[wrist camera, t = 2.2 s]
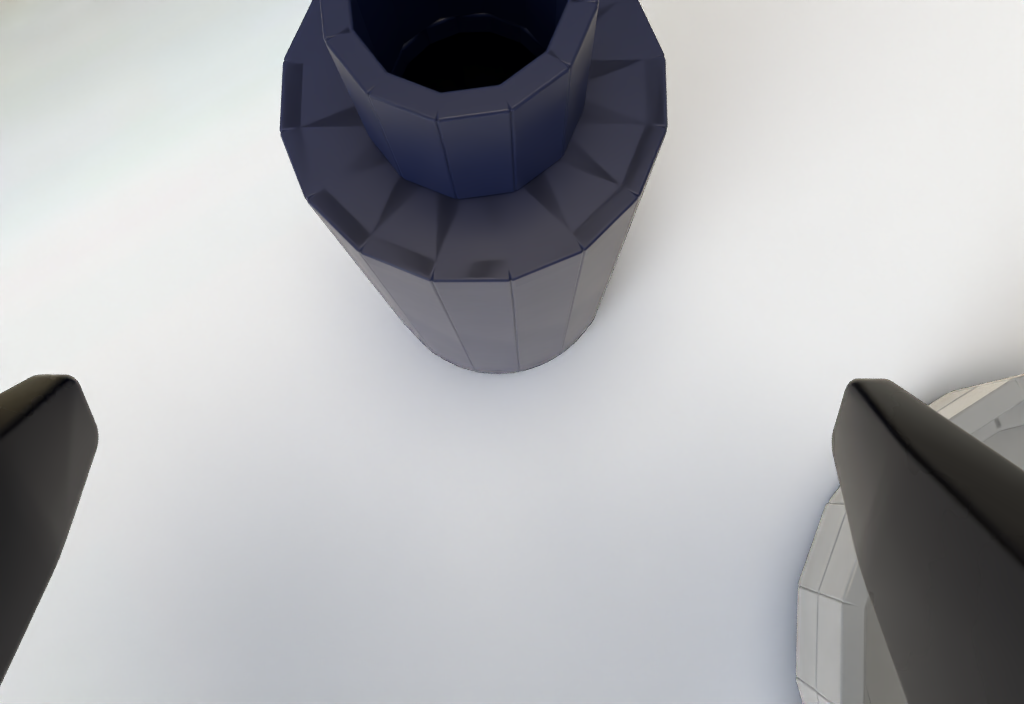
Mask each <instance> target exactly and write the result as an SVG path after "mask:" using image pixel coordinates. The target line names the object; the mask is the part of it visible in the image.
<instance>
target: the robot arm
mask: <svg viewBox="0 0 1024 704" xmlns="http://www.w3.org/2000/svg"><path fill="white" fill-rule="evenodd" d="M97 446H98V429H97V425H96V423H95V420H94V418H93V415H92V413H91V411H90V408H89V406H88V403H87V401H86V398H85V396H84V394H83V391H82V389H81V386H80V384H79V383H78V381H77V380H76V379H75V378H74V377H72V376H70V375H51V374H42V375H35V376H32V377H30V378H28V379H26V380H25V381H23V382H21V383H19V384H17V385H15V386H14V387H12V388H10V389H8V390H6V391H4V392H3V393H1V394H0V685H1V683H2V681H3V679H4V677H5V675H6V672H7V670H8V668H9V666H10V664H11V662H12V660H13V657H14V655H15V653H16V651H17V649H18V647H19V645H20V643H21V640H22V638H23V636H24V634H25V632H26V630H27V628H28V625H29V623H30V621H31V619H32V617H33V615H34V613H35V610H36V608H37V606H38V604H39V602H40V600H41V598H42V595H43V593H44V591H45V589H46V587H47V585H48V583H49V580H50V578H51V576H52V574H53V571H54V569H55V567H56V565H57V562H58V560H59V558H60V555H61V552H62V550H63V547H64V544H65V542H66V539H67V536H68V533H69V530H70V527H71V524H72V521H73V518H74V515H75V512H76V509H77V506H78V503H79V500H80V497H81V494H82V491H83V488H84V485H85V482H86V479H87V476H88V473H89V470H90V467H91V465H92V462H93V459H94V456H95V453H96V450H97ZM832 452H833V457H834V461H835V465H836V470H837V474H838V479H839V483H840V487H841V492H842V496H843V501H844V505H845V510H846V514H847V518H848V523H849V527H850V532H851V536H852V540H853V545H854V549H855V553H856V557H857V561H858V565H859V568H860V571H861V574H862V577H863V580H864V584H865V587H866V589H867V592H868V595H869V598H870V600H871V603H872V606H873V609H874V612H875V614H876V617H877V620H878V623H879V626H880V628H881V631H882V634H883V637H884V640H885V642H886V645H887V648H888V651H889V654H890V656H891V659H892V662H893V665H894V667H895V670H896V673H897V676H898V679H899V681H900V684H901V687H902V690H903V693H904V695H905V698H906V701H907V704H1024V470H1023V469H1021V468H1020V467H1018V466H1017V465H1015V464H1014V463H1012V462H1011V461H1009V460H1008V459H1007V458H1005V457H1004V456H1002V455H1001V454H999V453H998V452H996V451H995V450H993V449H992V448H990V447H989V446H987V445H986V444H984V443H983V442H981V441H980V440H978V439H977V438H975V437H974V436H972V435H971V434H969V433H968V432H966V431H965V430H963V429H962V428H961V427H959V426H958V425H956V424H955V423H953V422H952V421H950V420H949V419H947V418H946V417H944V416H943V415H941V414H940V413H938V412H937V411H935V410H934V409H932V408H931V407H929V406H928V405H926V404H925V403H923V402H922V401H920V400H919V399H917V398H916V397H915V396H913V395H912V394H910V393H909V392H907V391H906V390H904V389H903V388H901V387H900V386H898V385H897V384H895V383H894V382H892V381H890V380H888V379H854V380H852V381H850V382H849V384H848V385H847V387H846V389H845V392H844V396H843V399H842V402H841V406H840V409H839V413H838V416H837V419H836V423H835V426H834V429H833V434H832Z"/></svg>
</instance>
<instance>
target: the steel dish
mask: <svg viewBox="0 0 1024 704" xmlns="http://www.w3.org/2000/svg"><path fill="white" fill-rule="evenodd" d="M928 406H929V407H931V408H932V409H934V410H935V411H937V412H938V413H940V414H941V415H943V416H944V417H946V418H947V419H949V420H950V421H952V422H953V423H955V424H956V425H958V426H959V427H961V428H962V429H963V430H965V431H966V432H968V433H969V434H971V435H972V436H974V437H975V438H977V439H978V440H980V441H981V442H983V443H984V444H986V445H987V446H989V447H990V448H992V449H993V450H995V451H996V452H998V453H999V454H1001V455H1002V456H1004V457H1005V458H1007V459H1008V460H1009V461H1011V462H1012V463H1014V464H1015V465H1017V466H1018V467H1020V468H1021V469H1023V470H1024V374H1020V375H1016V376H1012V377H1008V378H1004V379H1000V380H995V381H991V382H987V383H983V384H979V385H975V386H971V387H967V388H963V389H958V390H954V391H952V392H950V393H947V394H945V395H943V396H942V397H940V398H939V399H937V400H936V401H934V402H932V403H931V404H929V405H928ZM798 585H799V587H798V601H797V644H796V676H797V677H796V681H797V685H798V688H799V692H800V696H801V699H802V703H803V704H907V701H906V698H905V695H904V693H903V690H902V687H901V684H900V681H899V679H898V676H897V673H896V670H895V667H894V665H893V662H892V659H891V656H890V654H889V651H888V648H887V645H886V642H885V640H884V637H883V634H882V631H881V628H880V626H879V623H878V620H877V617H876V614H875V612H874V609H873V606H872V603H871V600H870V598H869V595H868V592H867V589H866V587H865V584H864V580H863V577H862V574H861V571H860V568H859V565H858V561H857V557H856V553H855V549H854V545H853V540H852V536H851V532H850V527H849V523H848V518H847V514H846V510H845V505H844V501H843V496H842V492H841V487H839V488H838V490H837V491H836V492H835V493H834V495H833V496H832V497H831V498H830V500H829V504H826V505H825V508H824V511H823V514H822V517H821V520H820V522H819V525H818V528H817V531H816V534H815V537H814V540H813V542H812V545H811V548H810V551H809V554H808V557H807V560H806V562H805V565H804V568H803V571H802V574H801V577H800V579H799V582H798Z"/></svg>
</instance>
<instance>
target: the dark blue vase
mask: <svg viewBox="0 0 1024 704" xmlns="http://www.w3.org/2000/svg"><path fill="white" fill-rule="evenodd" d="M667 127H668V122H667V91H666V60H665V57H664V53H663V51H662V49H661V47H660V45H659V42H658V40H657V38H656V36H655V34H654V32H653V30H652V28H651V26H650V24H649V22H648V20H647V18H646V15H645V13H644V11H643V9H642V7H641V5H640V3H639V1H638V0H312V2H311V5H310V7H309V9H308V11H307V13H306V15H305V17H304V19H303V21H302V23H301V25H300V27H299V29H298V31H297V33H296V35H295V37H294V39H293V41H292V43H291V45H290V48H289V50H288V52H287V54H286V56H285V58H284V62H283V72H282V93H281V113H280V132H281V138H282V140H283V143H284V146H285V148H286V151H287V153H288V156H289V158H290V161H291V164H292V166H293V169H294V171H295V174H296V176H297V179H298V182H299V184H300V187H301V189H302V192H303V194H304V197H305V199H306V200H307V201H308V203H309V205H310V206H311V207H312V208H313V210H314V211H315V212H316V213H317V215H318V216H319V217H320V218H321V220H322V221H323V222H324V223H325V225H326V226H327V227H328V229H329V230H330V231H331V232H332V234H333V235H334V236H335V237H336V239H337V240H338V241H339V242H340V244H341V245H342V246H343V247H344V249H345V250H346V251H347V252H348V254H349V255H350V256H351V258H352V259H353V260H354V261H355V263H356V264H357V265H358V266H359V268H360V269H361V270H362V271H363V273H364V274H365V275H366V276H367V278H368V279H369V280H370V281H371V283H372V284H373V285H374V286H375V288H376V289H377V290H378V292H379V293H380V294H381V295H382V297H383V298H384V299H385V300H386V302H387V303H388V304H389V305H390V307H391V308H392V309H393V310H394V312H395V313H396V314H397V315H398V317H399V318H400V319H401V321H402V322H403V323H404V324H405V325H406V326H407V327H408V328H409V329H410V330H411V331H412V332H413V333H414V334H415V335H416V336H417V338H418V339H419V340H420V341H421V342H422V343H423V344H424V345H425V346H426V347H428V348H429V349H430V350H431V351H432V352H433V353H435V354H436V355H438V356H440V357H441V358H443V359H444V360H446V361H448V362H450V363H452V364H454V365H456V366H459V367H462V368H465V369H468V370H472V371H478V372H483V373H496V374H501V373H514V372H519V371H524V370H528V369H531V368H534V367H537V366H540V365H542V364H544V363H546V362H548V361H550V360H552V359H554V358H555V357H557V356H558V355H560V354H561V353H563V352H564V351H566V350H567V349H568V348H569V347H570V346H571V345H572V344H574V343H575V342H576V341H577V340H578V338H579V337H580V336H581V335H582V334H583V333H584V332H585V330H586V329H587V327H588V326H589V325H590V324H591V323H592V321H593V320H594V317H595V315H596V312H597V310H598V307H599V305H600V302H601V300H602V297H603V295H604V292H605V290H606V288H607V285H608V283H609V280H610V277H611V275H612V272H613V270H614V267H615V264H616V262H617V259H618V257H619V254H620V251H621V249H622V246H623V244H624V241H625V238H626V236H627V233H628V231H629V228H630V226H631V223H632V220H633V218H634V215H635V213H636V210H637V207H638V205H639V202H640V200H641V197H642V194H643V192H644V189H645V187H646V184H647V181H648V179H649V176H650V174H651V171H652V168H653V166H654V163H655V161H656V158H657V155H658V153H659V150H660V148H661V145H662V143H663V140H664V137H665V135H666V132H667Z"/></svg>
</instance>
